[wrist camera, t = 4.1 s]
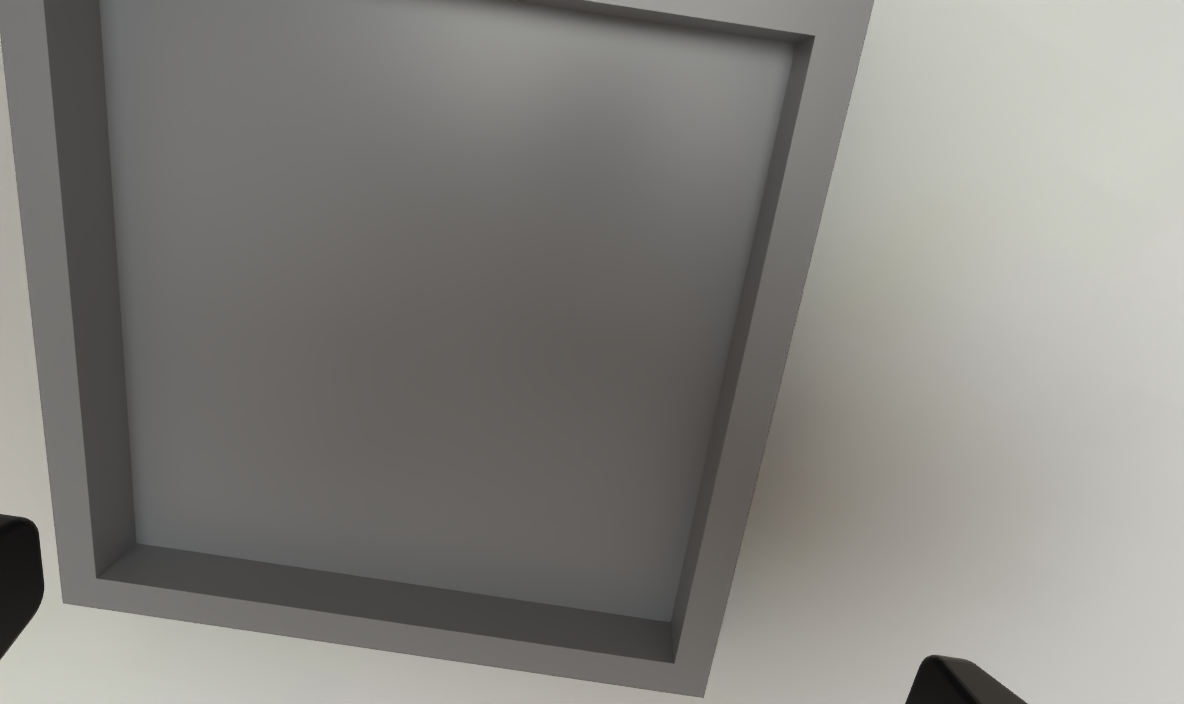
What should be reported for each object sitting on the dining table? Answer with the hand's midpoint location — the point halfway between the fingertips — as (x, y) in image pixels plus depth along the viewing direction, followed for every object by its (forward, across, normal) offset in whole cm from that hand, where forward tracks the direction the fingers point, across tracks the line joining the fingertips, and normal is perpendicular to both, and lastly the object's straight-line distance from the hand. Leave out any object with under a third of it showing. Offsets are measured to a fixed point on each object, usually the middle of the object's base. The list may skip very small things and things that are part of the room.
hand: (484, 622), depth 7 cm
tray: (+13, +4, +1) cm, 13 cm away
